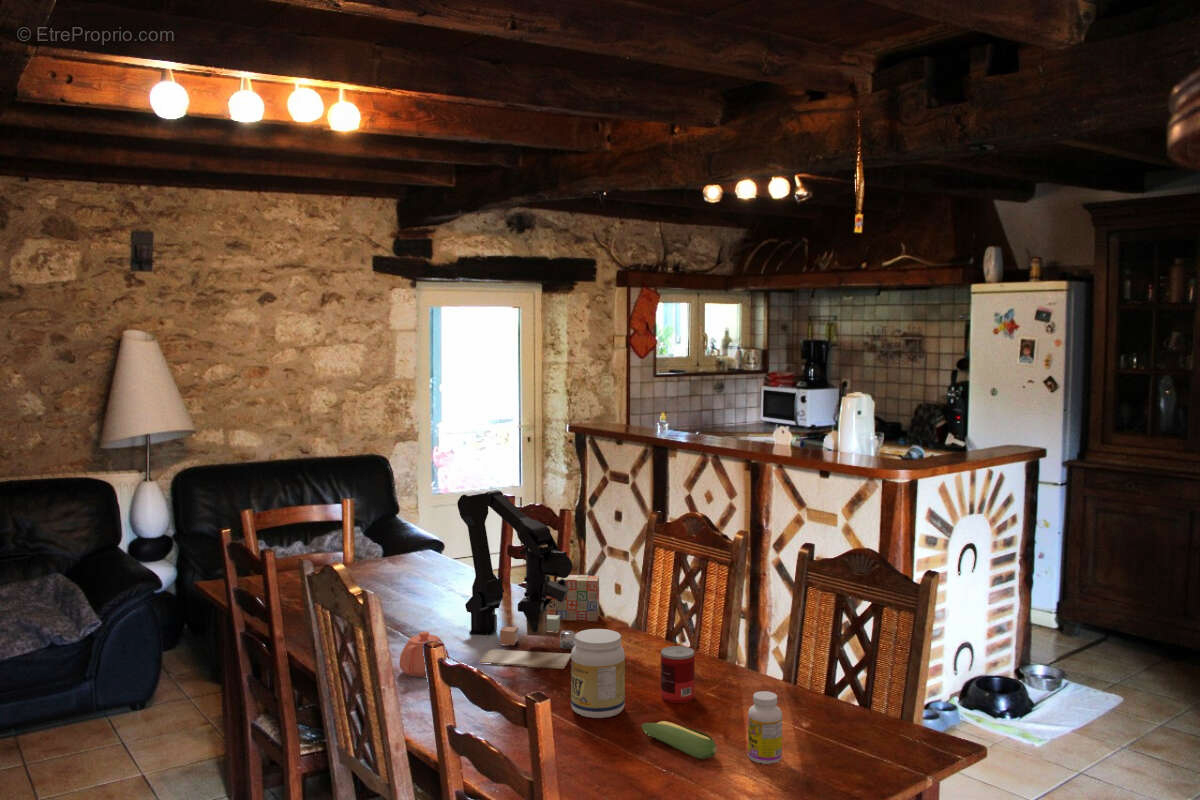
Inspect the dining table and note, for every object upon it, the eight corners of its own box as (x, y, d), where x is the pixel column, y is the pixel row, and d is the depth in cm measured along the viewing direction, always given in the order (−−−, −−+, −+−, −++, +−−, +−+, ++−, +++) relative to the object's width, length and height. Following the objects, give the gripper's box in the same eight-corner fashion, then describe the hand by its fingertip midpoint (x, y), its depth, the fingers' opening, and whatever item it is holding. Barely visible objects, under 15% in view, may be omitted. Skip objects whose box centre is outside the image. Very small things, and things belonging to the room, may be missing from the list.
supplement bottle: (744, 752, 197) (744, 689, 197) (776, 750, 198) (777, 688, 197) (752, 766, 191) (752, 702, 190) (785, 765, 191) (786, 700, 190)
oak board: (479, 664, 251) (479, 661, 251) (490, 651, 260) (490, 649, 260) (563, 668, 247) (563, 666, 247) (571, 656, 257) (571, 653, 257)
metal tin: (558, 649, 262) (558, 634, 262) (561, 644, 266) (561, 630, 266) (573, 650, 262) (573, 635, 262) (576, 645, 266) (576, 630, 265)
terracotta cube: (500, 645, 266) (500, 630, 266) (504, 640, 270) (503, 626, 270) (514, 646, 266) (514, 631, 265) (518, 641, 269) (518, 627, 269)
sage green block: (543, 632, 277) (543, 618, 277) (546, 628, 281) (546, 614, 281) (557, 633, 277) (557, 619, 277) (560, 629, 281) (559, 615, 280)
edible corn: (706, 767, 191) (706, 744, 191) (635, 736, 206) (635, 714, 206) (723, 759, 195) (724, 737, 194) (652, 729, 209) (652, 708, 209)
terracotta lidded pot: (459, 668, 248) (458, 628, 247) (426, 686, 235) (426, 644, 234) (418, 661, 253) (418, 623, 252) (385, 679, 240) (384, 638, 239)
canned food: (697, 693, 230) (697, 647, 229) (689, 705, 222) (689, 658, 221) (666, 689, 232) (666, 644, 231) (656, 701, 225) (657, 654, 224)
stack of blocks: (525, 619, 290) (525, 578, 289) (529, 613, 296) (528, 573, 296) (597, 621, 288) (597, 580, 287) (599, 615, 294) (599, 575, 294)
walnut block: (527, 635, 263) (526, 613, 263) (531, 630, 268) (530, 608, 267) (543, 636, 263) (543, 614, 262) (547, 631, 267) (546, 609, 267)
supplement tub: (562, 704, 223) (562, 630, 222) (611, 696, 228) (611, 624, 227) (583, 723, 212) (583, 646, 211) (634, 714, 217) (634, 639, 216)
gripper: (558, 582, 254) (558, 641, 255) (572, 565, 272) (572, 620, 273) (516, 580, 255) (517, 639, 256) (533, 564, 274) (534, 618, 275)
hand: (537, 629), depth 265 cm, fingers closed on walnut block, 4 cm apart
